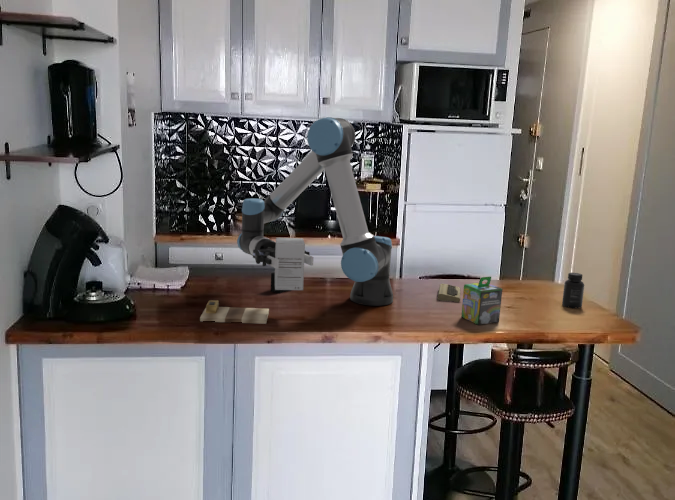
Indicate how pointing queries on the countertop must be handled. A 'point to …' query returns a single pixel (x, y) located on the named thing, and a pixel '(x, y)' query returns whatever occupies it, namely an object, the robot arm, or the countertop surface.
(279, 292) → the digital camera
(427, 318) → the countertop surface
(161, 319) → the countertop surface
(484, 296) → the chalk box
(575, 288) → the supplement bottle
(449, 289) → the tan flat block
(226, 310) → the plywood board
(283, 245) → the supplement box
